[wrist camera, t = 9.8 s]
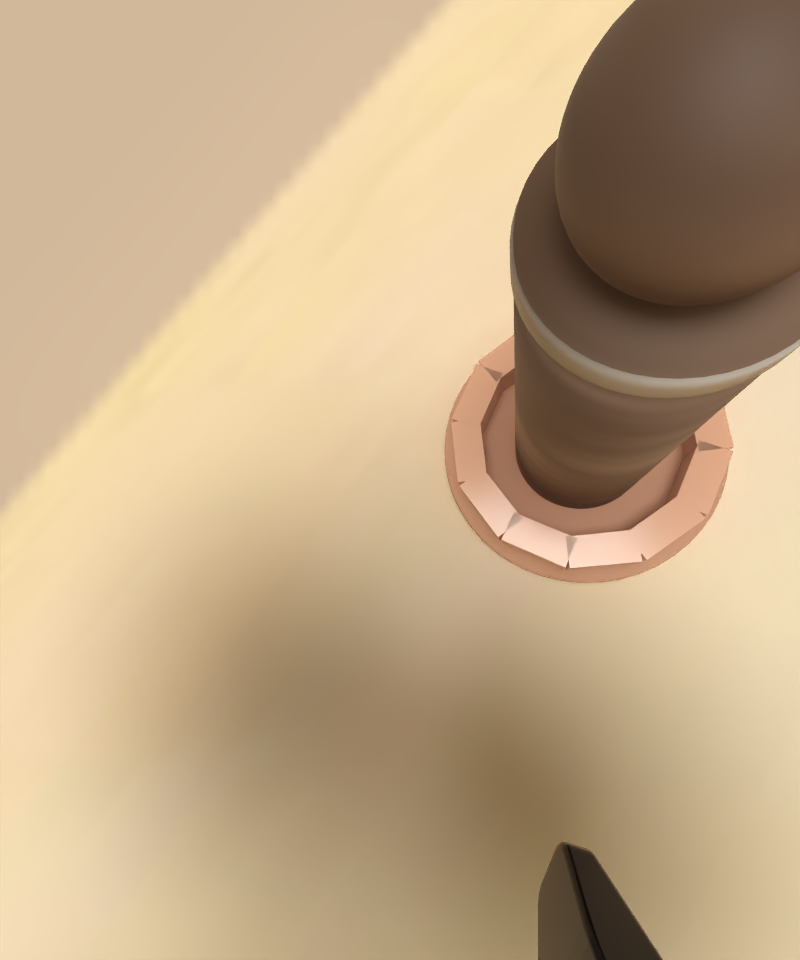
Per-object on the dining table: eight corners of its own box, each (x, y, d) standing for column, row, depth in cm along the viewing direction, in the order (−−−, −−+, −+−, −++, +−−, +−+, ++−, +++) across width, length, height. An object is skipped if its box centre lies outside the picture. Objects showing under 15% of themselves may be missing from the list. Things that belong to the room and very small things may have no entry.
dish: (765, 373, 18) (791, 350, 16) (664, 631, 17) (680, 635, 15) (505, 296, 21) (504, 270, 19) (406, 516, 20) (395, 509, 18)
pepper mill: (675, 437, 18) (1296, -153, 4) (590, 536, 18) (886, 335, 4) (567, 364, 19) (712, -278, 5) (488, 457, 19) (405, 78, 5)
